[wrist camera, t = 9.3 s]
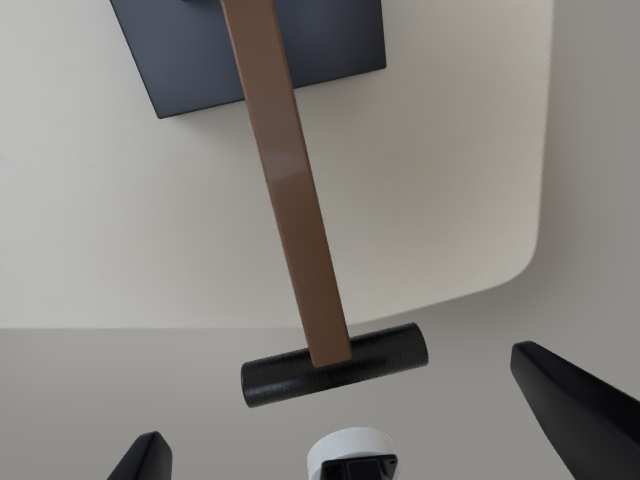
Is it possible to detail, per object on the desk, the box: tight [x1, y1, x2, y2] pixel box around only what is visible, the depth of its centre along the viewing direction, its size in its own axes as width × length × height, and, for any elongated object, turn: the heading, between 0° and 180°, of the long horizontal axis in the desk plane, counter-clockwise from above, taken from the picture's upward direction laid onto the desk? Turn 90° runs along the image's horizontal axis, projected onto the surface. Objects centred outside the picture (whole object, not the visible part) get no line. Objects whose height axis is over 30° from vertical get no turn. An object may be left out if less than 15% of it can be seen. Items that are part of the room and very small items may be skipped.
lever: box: [220, 0, 428, 408], centre depth 9 cm, size 14×5×2 cm, turn 12°
